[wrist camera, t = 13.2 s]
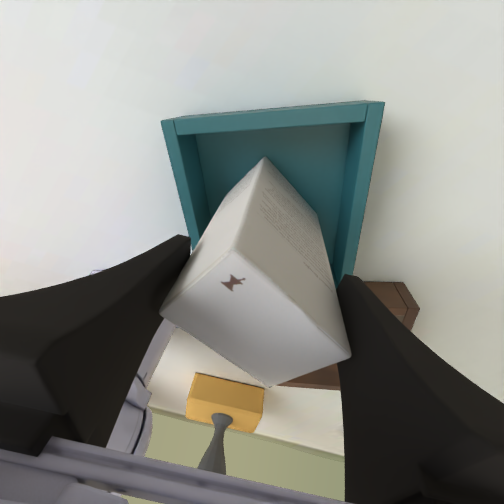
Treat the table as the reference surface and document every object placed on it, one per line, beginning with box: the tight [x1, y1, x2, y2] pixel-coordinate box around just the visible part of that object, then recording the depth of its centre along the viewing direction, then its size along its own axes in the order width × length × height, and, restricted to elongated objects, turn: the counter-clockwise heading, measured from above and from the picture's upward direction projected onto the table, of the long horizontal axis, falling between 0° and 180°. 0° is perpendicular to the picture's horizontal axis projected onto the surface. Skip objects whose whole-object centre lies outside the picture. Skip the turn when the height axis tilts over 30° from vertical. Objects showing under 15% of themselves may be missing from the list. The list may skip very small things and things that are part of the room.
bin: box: [161, 100, 385, 289], centre depth 17 cm, size 12×13×4 cm
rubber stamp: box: [185, 373, 264, 475], centre depth 30 cm, size 10×6×12 cm, turn 78°
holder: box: [275, 282, 420, 391], centre depth 24 cm, size 13×13×3 cm
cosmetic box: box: [159, 156, 352, 388], centre depth 13 cm, size 6×4×12 cm
